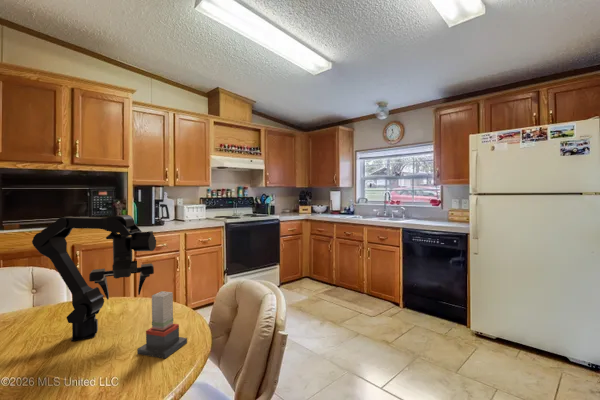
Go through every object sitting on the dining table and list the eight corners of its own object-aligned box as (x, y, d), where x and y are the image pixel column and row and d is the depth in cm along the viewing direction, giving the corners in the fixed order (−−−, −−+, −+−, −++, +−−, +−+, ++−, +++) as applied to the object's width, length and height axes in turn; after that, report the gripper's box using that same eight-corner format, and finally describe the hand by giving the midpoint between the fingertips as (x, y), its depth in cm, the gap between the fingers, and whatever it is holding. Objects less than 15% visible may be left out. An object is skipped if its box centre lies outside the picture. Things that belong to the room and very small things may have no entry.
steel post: (151, 334, 92) (151, 295, 92) (162, 328, 96) (161, 291, 96) (163, 336, 91) (163, 296, 91) (173, 330, 95) (173, 292, 95)
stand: (137, 353, 90) (137, 332, 90) (161, 338, 100) (161, 319, 100) (164, 358, 87) (164, 336, 87) (187, 342, 97) (186, 322, 97)
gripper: (86, 258, 91) (87, 309, 92) (154, 252, 100) (155, 299, 100) (91, 253, 101) (92, 299, 101) (152, 247, 110) (153, 290, 110)
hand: (123, 296), depth 103 cm, fingers open, 9 cm apart
